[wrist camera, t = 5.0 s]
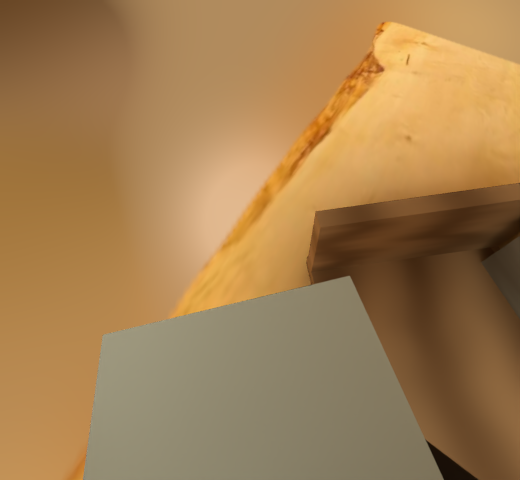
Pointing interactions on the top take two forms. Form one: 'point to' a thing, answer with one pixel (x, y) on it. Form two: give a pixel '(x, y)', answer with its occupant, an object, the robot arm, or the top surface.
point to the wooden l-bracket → (441, 311)
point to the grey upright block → (255, 396)
